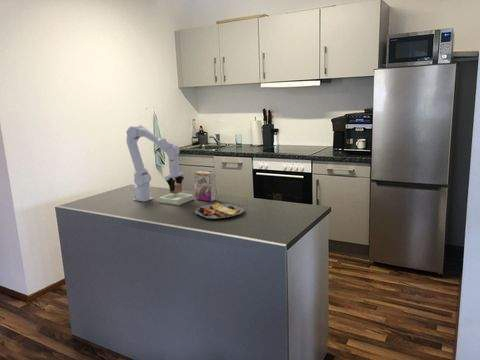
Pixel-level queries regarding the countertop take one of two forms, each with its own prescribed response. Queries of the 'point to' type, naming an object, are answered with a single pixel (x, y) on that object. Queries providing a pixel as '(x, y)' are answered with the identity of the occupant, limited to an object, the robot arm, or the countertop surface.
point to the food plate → (218, 210)
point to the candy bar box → (205, 186)
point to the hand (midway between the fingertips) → (175, 189)
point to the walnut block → (177, 188)
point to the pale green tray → (175, 198)
